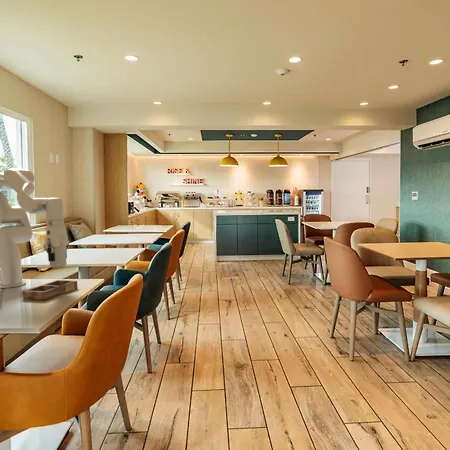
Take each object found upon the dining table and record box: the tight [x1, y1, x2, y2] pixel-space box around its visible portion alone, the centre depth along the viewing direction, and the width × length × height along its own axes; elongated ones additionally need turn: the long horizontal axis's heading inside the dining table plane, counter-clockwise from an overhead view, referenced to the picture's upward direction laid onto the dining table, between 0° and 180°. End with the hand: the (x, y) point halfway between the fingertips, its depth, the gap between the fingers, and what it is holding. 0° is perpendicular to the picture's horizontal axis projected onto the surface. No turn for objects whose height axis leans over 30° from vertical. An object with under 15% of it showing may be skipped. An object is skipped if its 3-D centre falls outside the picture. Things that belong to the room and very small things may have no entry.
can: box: [49, 242, 67, 269], centre depth 174 cm, size 8×8×12 cm
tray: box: [22, 279, 78, 302], centre depth 170 cm, size 12×22×4 cm, turn 164°
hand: (57, 259), depth 174 cm, fingers closed on can, 7 cm apart
